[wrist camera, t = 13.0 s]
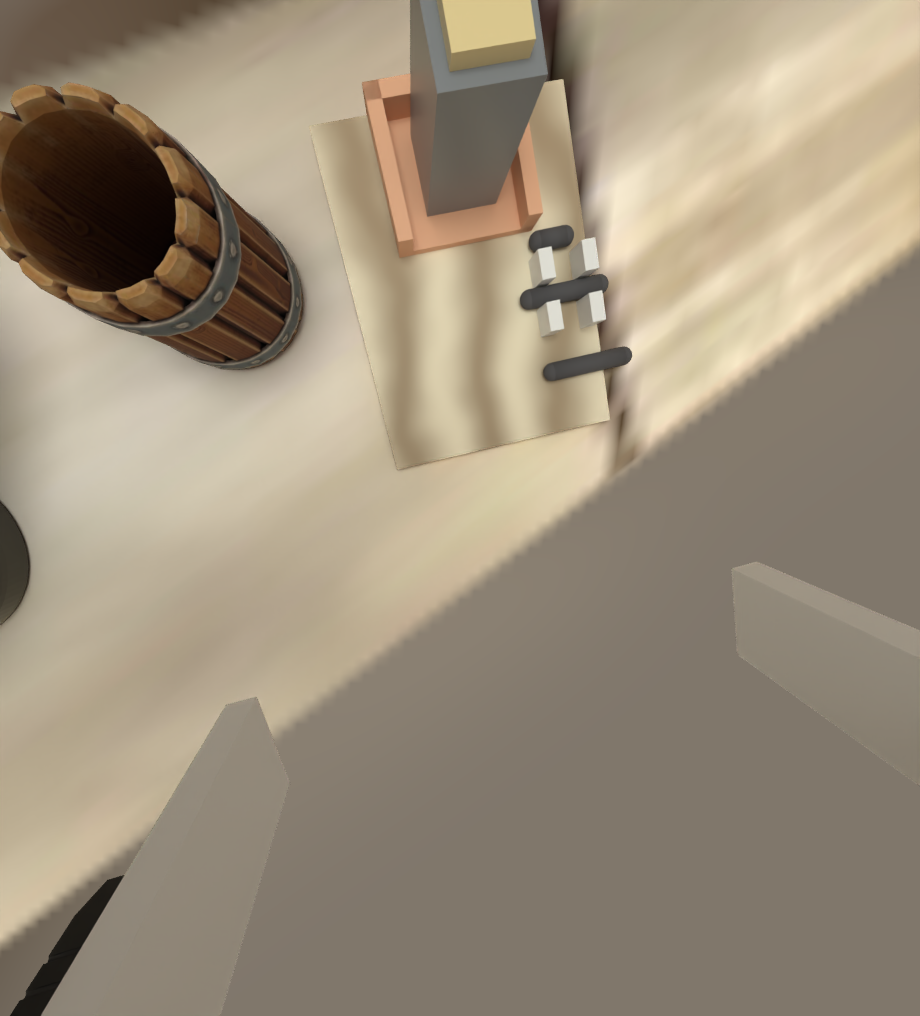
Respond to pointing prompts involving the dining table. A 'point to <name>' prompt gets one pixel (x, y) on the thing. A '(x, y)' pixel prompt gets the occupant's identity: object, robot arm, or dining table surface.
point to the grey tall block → (471, 95)
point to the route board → (461, 307)
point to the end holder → (403, 187)
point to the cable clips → (581, 266)
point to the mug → (139, 230)
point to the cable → (565, 293)
